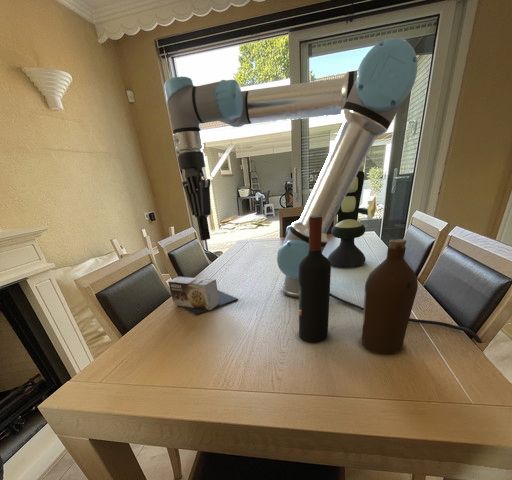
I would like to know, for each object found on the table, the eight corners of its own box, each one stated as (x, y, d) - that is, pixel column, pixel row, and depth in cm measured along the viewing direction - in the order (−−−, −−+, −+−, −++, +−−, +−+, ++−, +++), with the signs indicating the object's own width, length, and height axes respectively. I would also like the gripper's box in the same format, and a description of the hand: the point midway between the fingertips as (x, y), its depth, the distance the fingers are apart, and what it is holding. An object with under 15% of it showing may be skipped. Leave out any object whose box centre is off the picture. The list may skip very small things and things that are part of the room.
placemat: (237, 299, 105) (237, 298, 105) (196, 315, 96) (196, 314, 96) (217, 291, 115) (217, 289, 114) (178, 304, 106) (177, 303, 106)
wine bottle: (310, 346, 74) (312, 220, 59) (293, 334, 80) (291, 217, 65) (333, 337, 77) (341, 215, 62) (315, 326, 83) (318, 212, 68)
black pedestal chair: (324, 270, 126) (328, 146, 104) (322, 256, 145) (326, 149, 122) (369, 268, 123) (384, 140, 100) (362, 255, 141) (373, 144, 119)
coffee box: (216, 278, 98) (179, 275, 104) (205, 285, 93) (167, 281, 100) (220, 303, 102) (184, 298, 109) (209, 311, 97) (173, 305, 104)
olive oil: (410, 341, 72) (433, 236, 59) (396, 361, 65) (418, 248, 53) (368, 330, 78) (381, 233, 66) (351, 347, 72) (361, 244, 59)
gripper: (168, 155, 84) (185, 239, 95) (189, 149, 74) (205, 244, 86) (191, 154, 87) (205, 235, 99) (214, 148, 78) (226, 239, 90)
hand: (205, 239), depth 93 cm, fingers closed
